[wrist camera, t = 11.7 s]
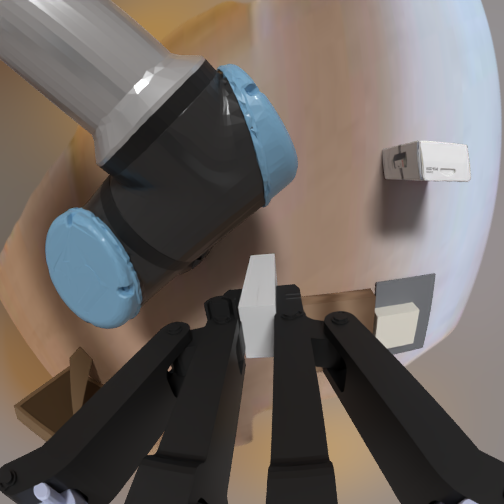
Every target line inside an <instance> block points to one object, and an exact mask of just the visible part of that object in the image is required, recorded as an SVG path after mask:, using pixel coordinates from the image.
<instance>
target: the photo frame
mask: <svg viewBox="0 0 504 504" xmlns="http://www.w3.org/2000/svg"><path fill="white" fill-rule="evenodd" d="M91 363H92V359H91V358H90V357H89V356H88V355H87V354H86V352H85V351H84V350H83V349H82V348H81V347H79V348H78V349H77V350H76V352H75V353H74V354H73V355H72V356H71V357H70V366H69V367H67V368H66V369H65V370H63V371H62V372H60V373H59V374H58V375H56V376H55V377H53V378H52V379H51V380H49V381H48V382H46V383H45V384H43V385H42V386H41V387H39V388H38V389H36V390H35V391H34V392H32V393H31V394H30V395H28V396H27V397H25V398H24V399H22V400H21V401H20V402H18V403H17V404H16V405H14V408H15V412H16V415H17V419H19V420H20V421H21V422H22V423H23V424H24V425H26V426H27V427H28V428H29V429H30V430H32V431H33V432H34V433H35V434H37V435H38V436H39V437H41V438H42V439H43V440H45V441H46V442H47V441H48V440H49V439H50V438H51V437H52V436H53V435H54V434H55V433H56V432H57V431H58V430H59V429H60V428H61V427H62V426H63V425H64V424H65V423H66V422H67V421H68V420H69V419H70V418H71V417H72V416H73V415H74V414H75V413H76V412H77V411H78V410H79V409H80V408H81V407H82V406H83V405H84V404H85V403H86V402H87V401H88V400H89V399H90V398H91V397H92V396H93V395H94V394H95V393H96V392H97V391H98V390H99V389H100V388H101V387H102V386H103V384H101V383H99V382H97V381H95V380H93V379H91V378H90V377H88V375H89V371H90V367H91Z"/></svg>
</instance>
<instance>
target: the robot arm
mask: <svg viewBox="0 0 504 504" xmlns="http://www.w3.org/2000/svg"><path fill="white" fill-rule="evenodd" d="M0 59H1V60H2V61H3V62H4V63H6V64H7V65H8V66H9V67H10V68H12V69H13V70H14V71H15V72H16V73H17V74H19V75H20V76H21V77H22V78H24V79H25V80H26V81H27V82H28V83H29V84H31V85H32V86H33V87H34V88H36V89H37V90H38V91H39V92H40V93H42V94H43V95H44V96H45V97H46V98H48V99H49V100H50V101H51V102H52V103H54V104H55V105H56V106H58V107H59V108H60V109H61V110H62V111H64V112H65V113H66V114H67V115H68V116H70V117H71V118H72V119H73V120H74V121H76V122H77V123H78V124H79V125H81V126H82V127H83V128H84V129H85V130H87V131H88V132H89V133H90V134H92V136H93V139H94V143H95V155H96V164H97V165H98V166H99V167H100V168H102V169H103V170H104V171H106V172H107V173H108V174H110V175H109V176H108V177H107V179H106V180H105V181H104V182H103V184H102V185H101V186H100V187H99V189H98V190H97V191H96V192H95V194H94V195H93V196H92V198H91V199H90V200H89V201H88V202H87V203H86V204H85V205H84V206H83V207H81V208H77V207H76V208H71V209H68V211H66V212H65V213H63V214H61V215H60V216H58V217H57V218H56V219H55V220H54V221H53V223H52V224H51V226H50V228H49V231H48V234H47V238H46V245H45V253H46V262H47V265H48V268H49V274H50V277H51V280H52V282H53V284H54V286H55V288H56V290H57V292H58V294H59V295H60V297H61V298H62V300H63V301H64V302H65V304H66V305H67V306H68V307H69V308H70V309H71V310H72V311H73V312H74V313H75V314H76V315H77V316H78V317H80V318H81V319H82V320H84V321H86V322H88V323H92V324H93V325H94V326H96V327H100V328H105V329H111V328H117V327H119V326H121V325H123V324H125V323H126V322H127V321H128V320H130V319H133V318H134V317H135V316H137V314H138V313H139V312H140V308H141V307H142V306H143V305H144V304H145V303H146V302H147V301H148V300H149V299H150V298H151V297H152V296H153V295H154V294H155V293H156V292H158V291H159V290H160V289H161V288H162V287H163V286H165V285H166V284H167V283H168V282H169V281H170V280H172V279H173V278H174V277H175V276H176V275H178V274H182V273H185V272H187V271H189V270H191V269H193V268H194V267H196V266H197V265H198V264H199V263H200V262H201V261H202V260H203V259H204V258H205V256H206V255H207V254H208V252H209V251H210V249H211V247H212V246H213V245H214V244H216V243H217V242H218V241H219V240H221V239H222V238H223V237H224V236H225V235H227V234H228V233H229V232H230V231H232V230H233V229H234V228H235V227H237V226H238V225H239V224H240V223H242V222H243V221H244V220H245V219H247V218H248V217H249V216H250V215H252V214H253V213H254V212H255V211H257V210H258V209H259V208H261V207H266V206H267V205H268V204H269V202H270V201H271V199H272V198H273V197H274V196H275V195H276V194H278V193H279V192H280V191H281V190H282V189H284V188H285V187H286V186H287V185H288V184H289V183H290V182H292V180H293V179H294V177H295V175H296V171H297V167H298V160H297V155H296V151H295V148H294V145H293V143H292V140H291V138H290V136H289V134H288V132H287V130H286V128H285V126H284V124H283V122H282V121H281V119H280V117H279V115H278V114H277V112H276V111H275V109H274V107H273V106H272V104H271V103H270V102H269V100H268V99H267V97H266V96H265V95H264V94H263V93H261V92H260V91H259V89H258V87H257V86H256V84H255V83H254V82H253V80H252V79H251V78H250V76H249V75H248V74H247V73H246V72H245V71H243V70H242V69H241V68H240V67H238V66H236V65H233V64H227V65H224V66H219V67H218V68H217V70H215V69H214V68H213V67H212V66H211V65H210V63H209V62H208V61H207V60H206V59H205V58H204V57H203V56H191V55H176V54H171V53H170V52H169V51H168V50H167V49H166V48H165V47H164V46H163V45H162V44H161V43H160V42H159V41H157V40H156V39H155V38H154V37H153V36H152V35H151V34H150V33H149V32H148V31H146V30H145V29H144V28H143V27H142V26H141V25H140V24H138V23H137V22H136V21H135V20H134V19H133V18H131V17H130V16H129V15H128V14H127V13H125V12H124V11H123V10H122V9H121V8H119V7H118V6H117V5H116V4H114V3H113V2H112V1H111V0H0ZM204 306H205V311H206V316H207V320H208V321H207V323H206V326H205V327H202V328H198V329H193V330H190V327H189V325H188V324H187V323H183V322H175V323H174V322H173V323H171V324H168V325H166V326H165V327H163V328H162V329H161V330H160V331H159V332H158V333H157V334H156V335H155V336H154V337H153V338H152V339H151V340H150V341H149V342H148V343H147V344H146V345H144V346H143V347H142V348H141V349H140V350H139V351H138V352H137V353H136V354H135V355H134V356H133V357H132V358H131V359H130V360H129V361H128V362H127V363H126V364H125V365H124V366H123V367H122V368H121V369H120V370H119V371H118V372H117V373H116V374H115V375H114V376H113V377H112V378H111V379H110V380H109V381H108V382H106V383H105V384H104V385H103V386H102V387H101V388H100V389H99V390H98V391H97V392H96V393H95V394H94V395H93V396H92V397H91V398H90V399H89V400H88V401H87V402H86V403H85V404H84V405H83V406H82V407H81V408H80V409H79V410H78V411H77V412H76V413H75V414H74V415H73V416H72V417H71V418H70V419H69V420H68V421H67V422H66V423H65V424H64V425H63V426H62V427H61V428H60V429H59V430H58V431H57V432H56V433H55V434H54V435H53V436H52V437H51V438H50V439H49V440H48V441H47V442H46V443H45V444H44V445H43V446H42V447H40V448H38V449H36V450H34V451H32V452H30V453H28V454H26V455H24V456H22V457H20V458H18V459H16V460H13V461H11V462H9V463H7V464H5V465H4V466H2V467H1V468H0V491H2V493H4V494H5V495H6V496H7V497H9V498H10V499H12V500H13V501H14V502H16V503H17V504H109V503H110V502H111V501H112V500H113V499H114V498H115V496H116V495H117V494H118V493H119V492H120V490H121V489H122V488H123V486H124V485H125V484H126V482H127V481H128V480H129V479H130V477H131V476H132V475H133V473H134V472H135V471H136V469H137V468H138V470H137V472H136V475H135V477H134V480H133V482H132V485H131V487H130V490H129V493H128V495H127V498H126V500H125V503H124V504H228V501H227V490H228V483H229V477H230V471H231V464H232V457H233V451H234V444H235V437H236V430H237V423H238V416H239V409H240V402H241V395H242V388H243V381H244V374H245V367H246V364H245V359H244V355H245V352H246V358H262V357H274V374H273V413H272V415H273V416H272V441H271V462H270V466H269V469H268V479H267V495H266V504H338V502H337V492H336V483H335V475H334V468H333V464H332V462H331V461H330V460H329V455H328V448H327V441H326V433H325V426H324V418H323V411H322V404H321V398H320V391H319V385H318V379H317V373H316V367H322V369H323V372H324V374H325V376H326V377H327V379H328V381H329V382H330V384H331V386H332V388H333V389H334V391H335V393H336V394H337V396H338V398H339V399H340V401H341V403H342V405H343V406H344V408H345V410H346V411H347V413H348V415H349V416H350V418H351V420H352V422H353V423H354V425H355V427H356V428H357V430H358V432H359V434H360V435H361V437H362V438H363V440H364V442H365V444H366V445H367V447H368V449H369V451H370V452H371V454H372V456H373V457H374V459H375V461H376V462H377V464H378V466H379V468H380V469H381V471H382V473H383V474H384V476H385V478H386V479H387V481H388V483H389V485H390V486H391V488H392V490H393V491H394V493H395V495H396V497H397V498H398V500H399V501H400V503H401V504H504V462H502V461H500V460H498V459H496V458H494V457H492V456H489V455H488V454H486V453H484V452H482V451H480V450H479V449H478V448H477V447H476V446H475V445H474V444H473V442H472V441H471V440H470V439H469V438H468V437H467V435H466V434H465V433H464V432H463V431H462V430H461V428H460V427H459V426H458V425H457V424H456V423H455V422H454V420H453V419H452V418H451V417H450V416H449V415H448V414H447V413H446V412H445V411H444V409H443V408H442V407H441V406H440V405H439V404H438V403H437V402H436V401H435V399H434V398H433V397H432V396H431V395H430V394H429V393H428V392H427V391H426V390H425V389H424V387H423V386H422V385H421V384H420V383H419V382H418V381H417V380H416V379H415V378H414V377H413V376H412V375H411V373H410V372H409V371H408V370H407V369H406V368H405V367H404V366H403V365H402V364H401V363H400V362H399V361H398V360H397V359H396V358H395V357H394V356H393V355H392V353H391V352H390V351H389V350H388V349H387V348H386V347H385V346H384V345H383V344H382V343H381V342H380V341H379V340H378V339H377V338H376V337H375V336H374V335H373V334H372V333H371V332H370V331H369V330H368V329H367V328H366V327H365V326H364V325H363V324H362V323H361V322H360V321H359V320H358V319H357V318H356V317H355V316H354V315H353V314H351V313H349V312H345V311H336V312H332V313H329V314H328V315H327V316H325V318H324V321H321V320H314V319H311V318H309V317H307V316H306V313H305V312H304V310H303V305H302V299H301V294H300V289H299V288H298V287H297V286H296V285H295V284H292V285H281V286H277V275H276V264H275V253H274V254H262V255H251V256H250V260H249V265H248V269H247V273H246V277H245V281H244V285H243V289H237V290H228V291H227V292H226V293H225V294H224V295H223V296H218V297H214V298H211V299H209V300H207V301H206V302H205V303H204ZM170 365H171V367H172V369H171V370H170V371H169V372H168V368H169V367H170ZM164 431H165V432H164ZM163 432H164V434H163ZM162 434H163V437H162V440H161V442H160V445H159V448H158V450H157V452H156V453H155V454H154V455H147V454H148V453H149V452H150V450H151V449H152V447H153V446H154V445H155V443H156V442H157V440H158V439H159V438H160V436H161V435H162ZM138 466H139V467H138Z"/></svg>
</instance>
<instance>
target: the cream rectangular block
mask: <svg viewBox="0 0 504 504" xmlns="http://www.w3.org/2000/svg"><path fill="white" fill-rule="evenodd" d="M418 316H419V309H418V308H417V307H416V305H415V304H414V303H413V302H410V303H404V304H398V305H392V306H386V307H380V308H375V314H374V326H373V335H374V336H375V337H376V338H377V339H378V340H379V341H380V342H381V343H382V344H383V345H384V346H385V347H386V348H387V349H388V348H393V347H398V346H403V345H407V344H412V343H413V341H414V337H415V332H416V327H417V321H418Z"/></svg>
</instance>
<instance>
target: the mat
mask: <svg viewBox="0 0 504 504" xmlns="http://www.w3.org/2000/svg"><path fill="white" fill-rule="evenodd" d="M434 282H435V273H434V274H428V275H422V276H415V277H409V278H402V279H396V280H389V281H382V282H376V291H375V296H376V301H375V308H380V307H386V306H392V305H398V304H404V303H410V302H413V303H414V304H415V305H416V307H417V308H418V309H419V316H418V321H417V327H416V332H415V337H414V341H413V343H412V344H407V345H403V346H398V347H393V348H388V350H389V351H390V352H391V353H392V354H397V353H402V352H406V351H410V350H415V349H419V348H423V344H424V340H425V336H426V331H427V326H428V321H429V316H430V310H431V304H432V297H433V290H434Z"/></svg>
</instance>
